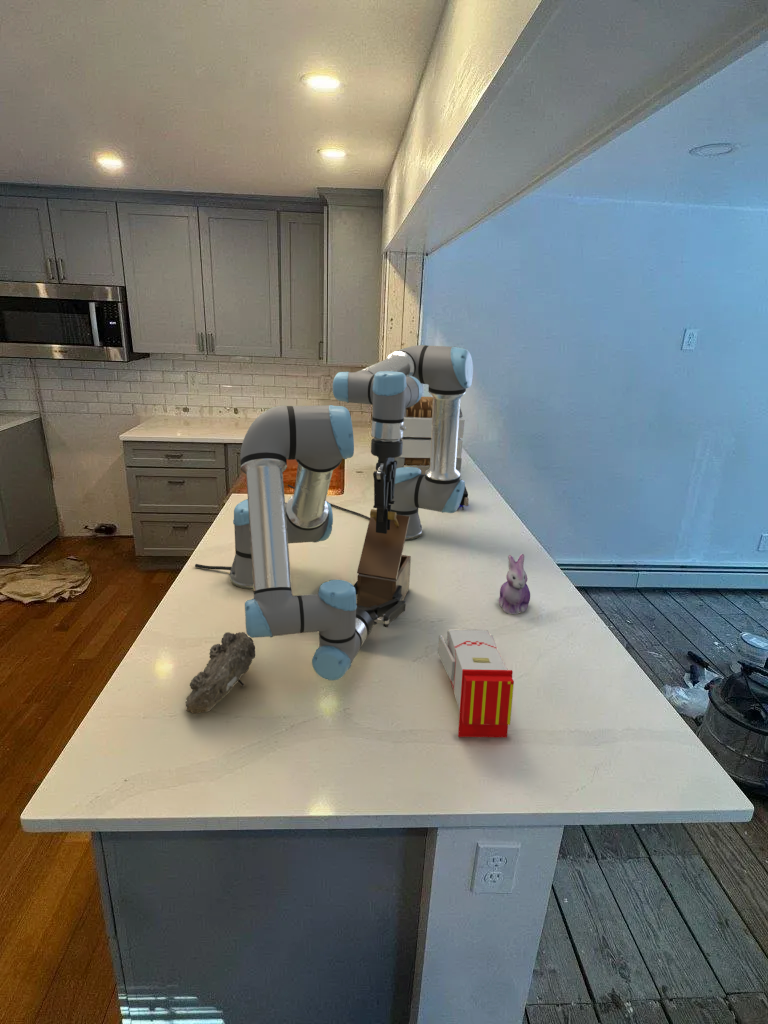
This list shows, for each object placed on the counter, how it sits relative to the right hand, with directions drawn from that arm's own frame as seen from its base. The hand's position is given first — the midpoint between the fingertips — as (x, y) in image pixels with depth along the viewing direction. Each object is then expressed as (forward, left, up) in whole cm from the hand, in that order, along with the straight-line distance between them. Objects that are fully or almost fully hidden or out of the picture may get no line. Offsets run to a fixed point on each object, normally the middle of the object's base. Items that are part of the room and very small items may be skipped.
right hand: (382, 530), depth 143 cm
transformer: (-89, +100, -22) cm, 136 cm away
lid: (-1, +2, -5) cm, 6 cm away
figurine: (+21, +30, -22) cm, 43 cm away
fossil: (+5, -46, -22) cm, 51 cm away
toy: (+38, -7, -22) cm, 45 cm away
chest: (-3, +4, -22) cm, 22 cm away
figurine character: (-45, +80, -22) cm, 94 cm away
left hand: (0, 0, -16) cm, 16 cm away
